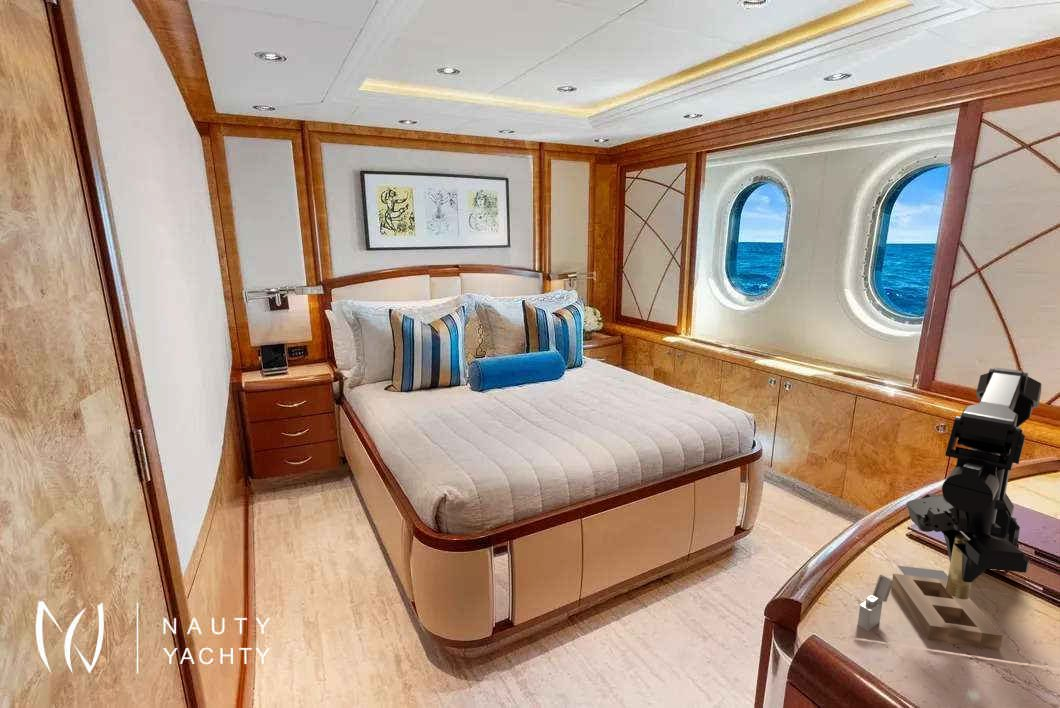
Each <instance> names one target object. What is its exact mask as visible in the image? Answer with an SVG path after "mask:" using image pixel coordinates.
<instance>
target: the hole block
mask: <svg viewBox="0 0 1060 708" xmlns="http://www.w3.org/2000/svg"><path fill="white" fill-rule="evenodd" d="M891 579H893V584H892V587H891V589H893V591H894V592H895V594H896V595H897V596H898V598H899V599H900V602H902V605H904V606H905V609H907V611H908V612H909V614H910V616H911V617H912V618H913V620H914V622H915V623H916V624H917V626H918V627H919V629H920V630H921V632H922V634H923V635H924V636H925V637H926V639H927V640H928V641H934V642H935V641H936V642H940V643H948V644H954V645H960V646H967V647H975V648H980V649H981V648H982V649H987V650H994V651H1001V646H1002V640H1003V634H1002V633H1001V632H1000V631H999V629H997V628H996V626H994V624H993V623H992V622H991V621H990V620H989V618H988V617H987V616H986V615H985V614H984V613H983V612H982V610H980V608H979V607H978V606H977V605H976V604H975V602H974V601H973V600H972V599H971V598H970V597H969V598H968V599H958V598H955V597H953V596H951V595H950V594H948V593H947V592H946V585H947V580H942V579H934V578H926V577H918V576H910V575H904V574H901V573H893V574H892V577H891ZM949 622H952V623H949ZM957 623H959V624H957Z"/></svg>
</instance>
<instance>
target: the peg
mask: <svg viewBox="0 0 1060 708" xmlns="http://www.w3.org/2000/svg"><path fill="white" fill-rule="evenodd" d="M967 541H969V540H968V539H967V538H966V537H965V536H964V535H956V536H955V539H954V543H957V544H966V542H967ZM949 563H950V564H949V568H948V575H947V576H948V579H947V585H946V592H947V593H948V594H950V595H951V596H953V597H955V598H958V599H968V598H970V593H971V590H972V589H971V588H972V583H973V581H972V582H964V581H963V580H962V552H961V551H960V550H959V549H958V548H957V547H956V546H955V545H954V544H953V550H952V556H951V562H950V561H949Z"/></svg>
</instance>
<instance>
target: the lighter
mask: <svg viewBox="0 0 1060 708" xmlns="http://www.w3.org/2000/svg"><path fill="white" fill-rule="evenodd" d="M876 581H877V582H876V584H875V587H874V590H873V592H872V594H871V595H869V596H867V597H866V599H865V601H863V602H861V604H859V612H858V618H857V626H858V627H860V628H861V629H863V630H865V631H867V632H869V631H870V630H872V629H873V628H874V627H876V626H877V625H878V624H880V623H881V615H882V608H883V603H885V602H886V603H887V601H888V597H889V595H890V592H891V589H892V584H893V579H892V577H891V578H890V577H888V576H886V575H884V574H879V575H878V579H877V580H876Z"/></svg>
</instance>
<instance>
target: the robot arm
mask: <svg viewBox="0 0 1060 708" xmlns="http://www.w3.org/2000/svg"><path fill="white" fill-rule="evenodd" d="M975 394H976V398H977V399H978V400H979V401H978V403H976V404H971V405H967V406H966V407H965V408H964V410H963V411H962V413H961V415H960V416H958V415H956V416H955V419H954V421H953V425H952V428H951V431H950V432H951V433H950V436H949V440H948V443H947V448H946V451H945V456H946V457H949V458H953V459H956V463H955V467H953V468H952V470H951V472H950V473H949V475H948V476H947V478H945V480H944V482H943V483H942V486H941V492H942V494H933V493H927V494H925V495H924V496H921V498H918V499H914V500H913V499H912V500H909V501H907V502H906V506H907V510H908V514H909V516H910V520H911V521H912V522H913V523H914V524H915V525H916V527H917V528H918V529H919V530H920V531H922V532H925V533H929V532H933V531H934V533H935V532H936V533H940V532H941V533H942V535H943V536H944V542H945V545H946V549H947V554H948V559H949V563H950V562H951V556H952V550H953V544H954V545H955V546H956V547H957V548H958V549H959V550H960V551H961V552H962V580H963V581H964V582H972V583H973V582H974V581H975V580H976V579H977V578H978V577H980V576H981V575H982V574H983V573H985V571H987V570H986V569H997V570H1005V571H1008V572H1013V573H1014V572H1016V573H1026V574H1027V572H1028V570H1029V567H1030V561H1031V559H1030V558H1029V557H1028V556H1027V555H1026V554H1025V553H1023V552H1022V551H1021V550H1020V549H1019V548H1018V547H1017V546H1018V542H1019V537H1020V531H1021V530H1020V529H1021V527H1020V525H1019V524H1018V521H1017V520H1018V519H1017V518H1015V517H1013V515H1014V510H1015V505H1014V504H1013V502H1012V501H1011V499H1010V497H1009V496H1008V495H1007V486H1008V481H1009V476H1010V471H1012V469H1013V467H1014V466H1013V465H1014V464H1016V465H1019V463H1020V459H1021V456H1022V452H1023V448H1024V444H1025V439H1026V435H1025V434H1024V432H1023V429H1022V427H1020V426H1021V425H1023V424H1024V423H1025V422H1027V420H1029V419H1030V417H1031V416H1032V415H1031V414H1032V413H1033V409H1035V408H1036V409H1038V407H1039V404H1040V400H1041V394H1042V382H1040V381H1038V380H1036V379H1034V378H1032V377H1030V376H1029V373H1028V372H1024V371H1023V370H1018V369H1010V368H1004V367H1003V368H1001V367H994V368H989V370H988V373H987V372H986V373H983V374H981V375H980V376H979V380H978V383H977V387H976V391H975ZM956 444H957V445H958V446H956ZM960 446H961V447H960ZM964 447H965V448H964ZM956 535H964V536H965V537H966V538H967V539H968V540H969V541H967V542H966V544H957V543H954V539H955V536H956Z"/></svg>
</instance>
